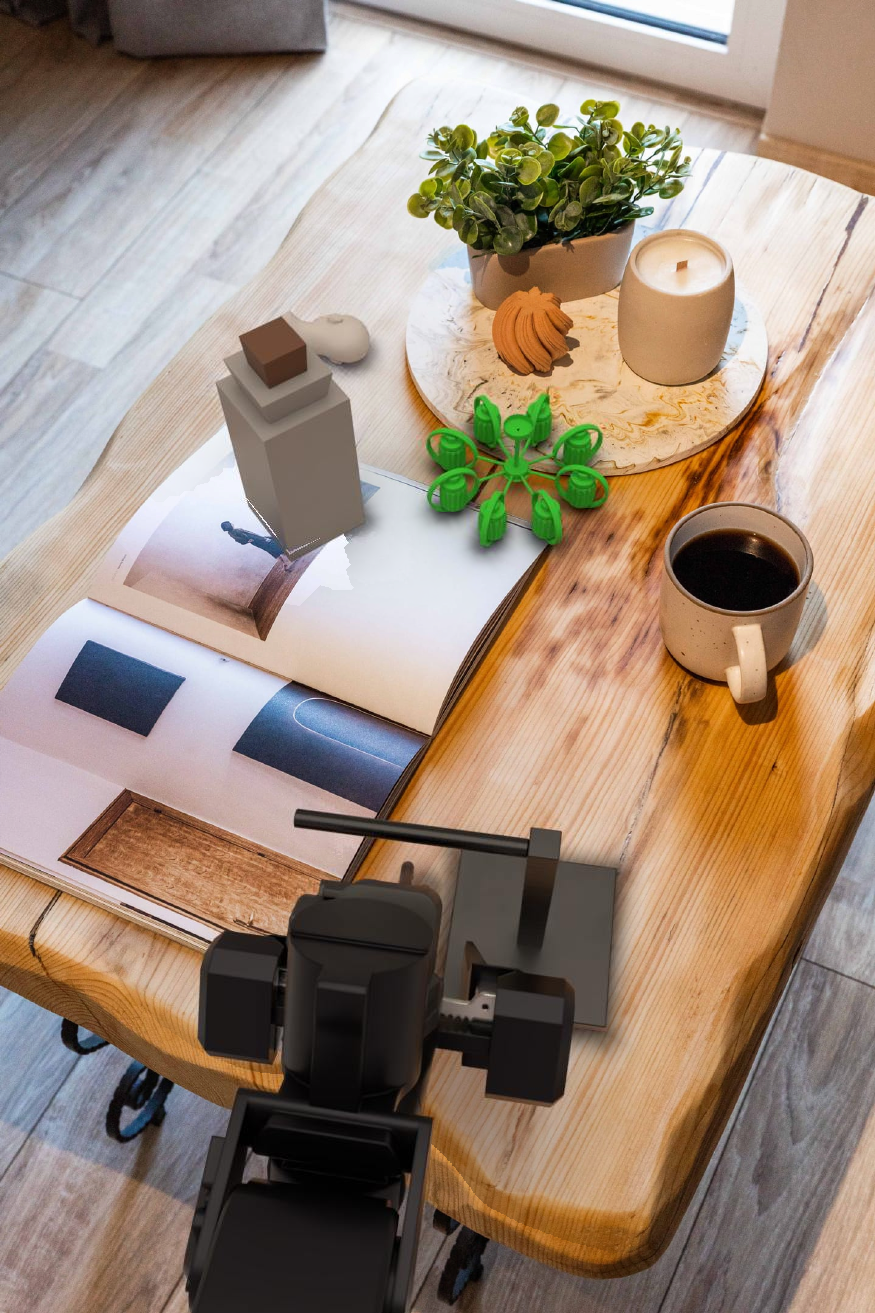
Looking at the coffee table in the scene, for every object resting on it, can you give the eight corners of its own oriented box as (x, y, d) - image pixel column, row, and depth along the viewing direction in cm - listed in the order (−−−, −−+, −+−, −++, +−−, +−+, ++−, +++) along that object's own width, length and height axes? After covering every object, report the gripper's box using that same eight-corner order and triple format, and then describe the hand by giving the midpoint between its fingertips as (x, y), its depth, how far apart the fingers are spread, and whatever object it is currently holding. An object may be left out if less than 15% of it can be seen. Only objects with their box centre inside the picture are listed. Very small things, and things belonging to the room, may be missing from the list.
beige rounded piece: (376, 351, 98) (363, 378, 95) (288, 340, 99) (272, 365, 95) (376, 305, 96) (363, 330, 92) (286, 293, 96) (270, 318, 93)
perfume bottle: (365, 522, 87) (343, 348, 72) (291, 562, 85) (252, 392, 70) (320, 468, 90) (290, 290, 75) (248, 506, 88) (202, 331, 73)
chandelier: (557, 394, 94) (563, 331, 88) (643, 522, 86) (656, 462, 80) (392, 450, 91) (387, 389, 85) (468, 587, 84) (467, 530, 78)
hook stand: (604, 1032, 66) (639, 954, 53) (310, 989, 68) (271, 903, 55) (614, 874, 72) (649, 766, 58) (341, 838, 73) (313, 725, 60)
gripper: (590, 974, 46) (587, 831, 61) (159, 913, 48) (258, 789, 63) (560, 1200, 49) (563, 1010, 64) (152, 1135, 51) (249, 965, 66)
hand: (408, 940), depth 64 cm, fingers open, 7 cm apart
